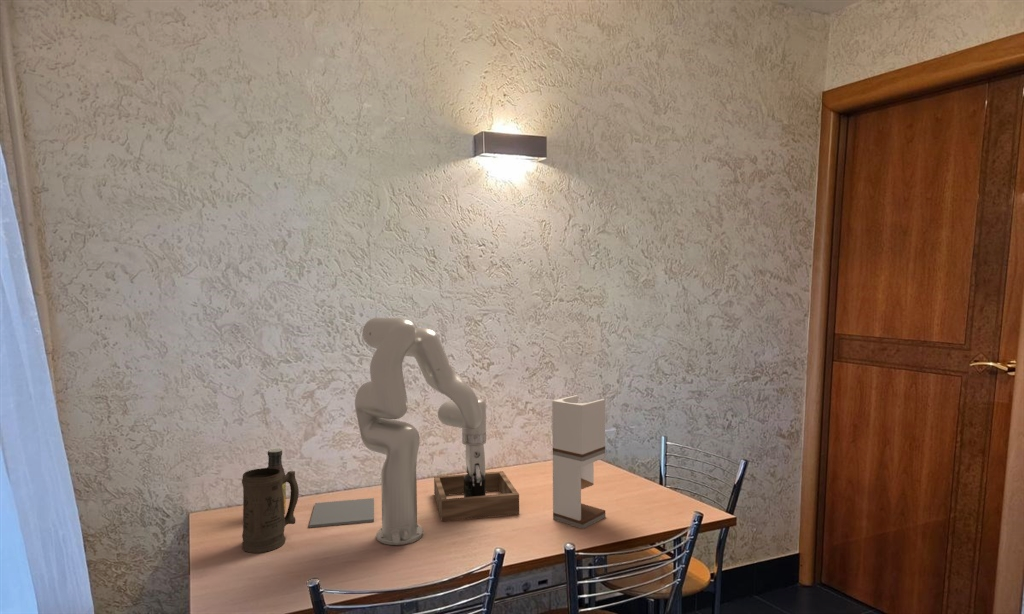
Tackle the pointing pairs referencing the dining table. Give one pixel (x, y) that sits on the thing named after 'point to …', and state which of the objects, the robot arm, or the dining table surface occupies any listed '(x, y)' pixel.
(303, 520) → the dining table surface
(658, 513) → the dining table surface
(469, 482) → the supplement bottle
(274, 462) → the sauce bottle
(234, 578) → the dining table surface
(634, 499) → the dining table surface
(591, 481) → the white notched column
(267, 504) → the beer stein
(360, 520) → the mat
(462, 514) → the crate
